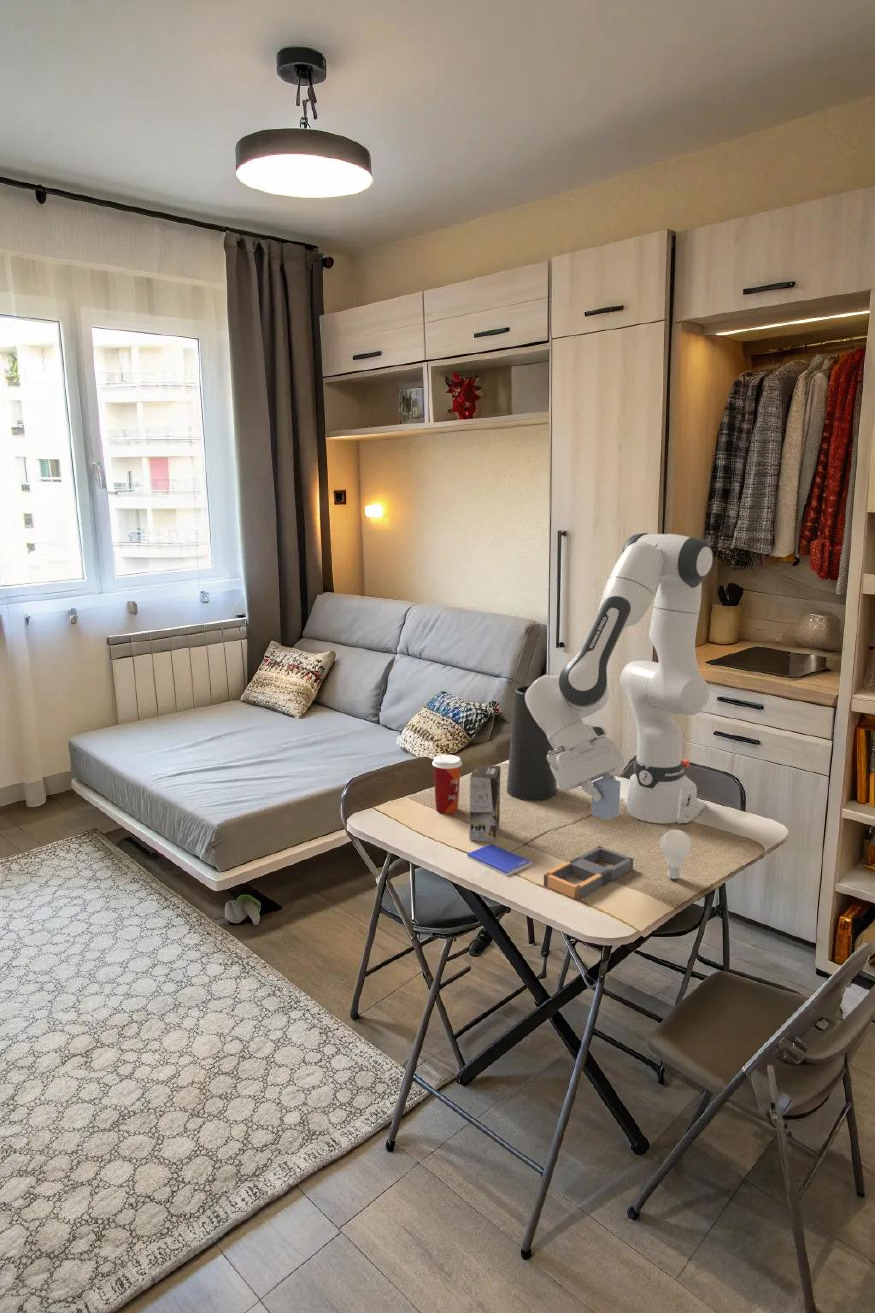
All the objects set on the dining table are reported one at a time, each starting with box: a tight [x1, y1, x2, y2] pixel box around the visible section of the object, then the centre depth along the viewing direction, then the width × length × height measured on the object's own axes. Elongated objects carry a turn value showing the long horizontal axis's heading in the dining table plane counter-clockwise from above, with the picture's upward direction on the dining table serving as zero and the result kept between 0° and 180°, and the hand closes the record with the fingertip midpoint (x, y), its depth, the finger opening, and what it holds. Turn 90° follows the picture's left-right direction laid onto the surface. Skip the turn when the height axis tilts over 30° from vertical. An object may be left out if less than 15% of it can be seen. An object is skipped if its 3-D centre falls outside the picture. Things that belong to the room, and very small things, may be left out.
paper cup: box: [431, 754, 463, 815], centre depth 215 cm, size 8×8×14 cm
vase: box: [506, 684, 558, 802], centre depth 226 cm, size 14×14×29 cm
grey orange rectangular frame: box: [543, 846, 634, 901], centre depth 179 cm, size 20×9×3 cm, turn 134°
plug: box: [591, 777, 621, 821], centre depth 180 cm, size 4×4×8 cm
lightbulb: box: [659, 829, 692, 880], centre depth 178 cm, size 6×6×11 cm
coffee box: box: [468, 764, 501, 843], centre depth 200 cm, size 9×6×16 cm
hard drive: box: [466, 843, 533, 877], centre depth 187 cm, size 2×8×12 cm
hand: (608, 796), depth 179 cm, fingers closed on plug, 4 cm apart
